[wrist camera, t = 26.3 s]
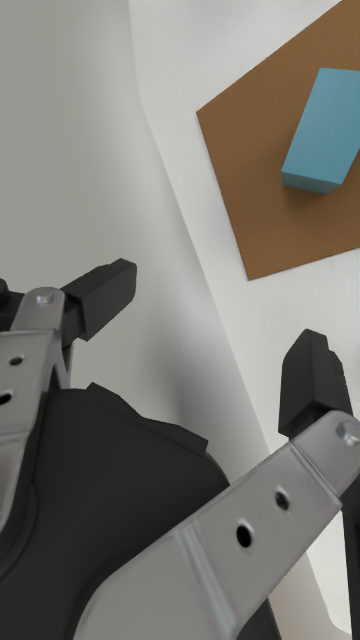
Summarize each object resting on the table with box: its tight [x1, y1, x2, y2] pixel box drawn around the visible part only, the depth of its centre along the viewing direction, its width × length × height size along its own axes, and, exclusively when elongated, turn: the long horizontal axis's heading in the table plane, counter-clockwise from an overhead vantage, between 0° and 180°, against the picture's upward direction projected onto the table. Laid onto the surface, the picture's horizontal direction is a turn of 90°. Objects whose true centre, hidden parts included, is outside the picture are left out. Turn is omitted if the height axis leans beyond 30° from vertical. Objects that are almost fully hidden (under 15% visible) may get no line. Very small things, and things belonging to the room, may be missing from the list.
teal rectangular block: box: [281, 68, 360, 195], centre depth 19 cm, size 4×6×8 cm
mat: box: [196, 0, 360, 280], centre depth 23 cm, size 20×20×1 cm
